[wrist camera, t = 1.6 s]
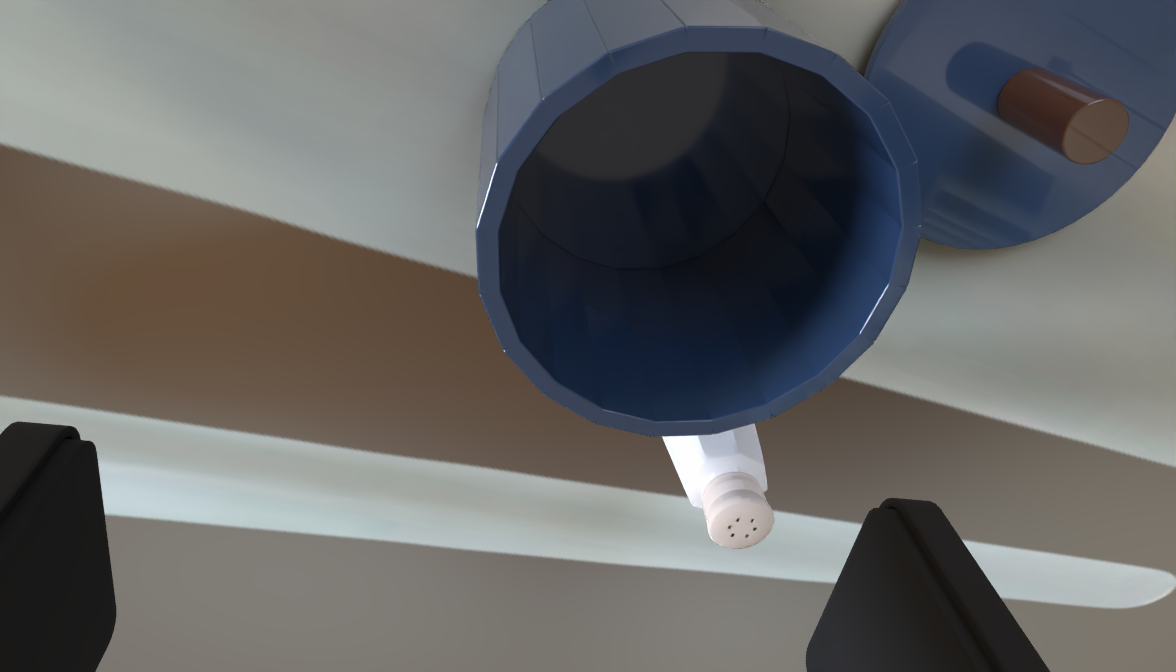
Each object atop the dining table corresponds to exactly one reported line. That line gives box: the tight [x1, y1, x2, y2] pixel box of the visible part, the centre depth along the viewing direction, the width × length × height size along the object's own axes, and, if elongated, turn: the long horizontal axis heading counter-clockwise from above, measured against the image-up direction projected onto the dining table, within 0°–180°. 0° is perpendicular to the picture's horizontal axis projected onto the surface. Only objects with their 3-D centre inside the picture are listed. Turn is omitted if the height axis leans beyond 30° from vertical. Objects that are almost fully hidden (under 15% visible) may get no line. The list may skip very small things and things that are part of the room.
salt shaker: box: [662, 424, 774, 549], centre depth 39 cm, size 5×5×11 cm
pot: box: [476, 0, 923, 437], centre depth 31 cm, size 14×14×12 cm
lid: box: [864, 0, 1176, 250], centre depth 35 cm, size 15×15×6 cm
